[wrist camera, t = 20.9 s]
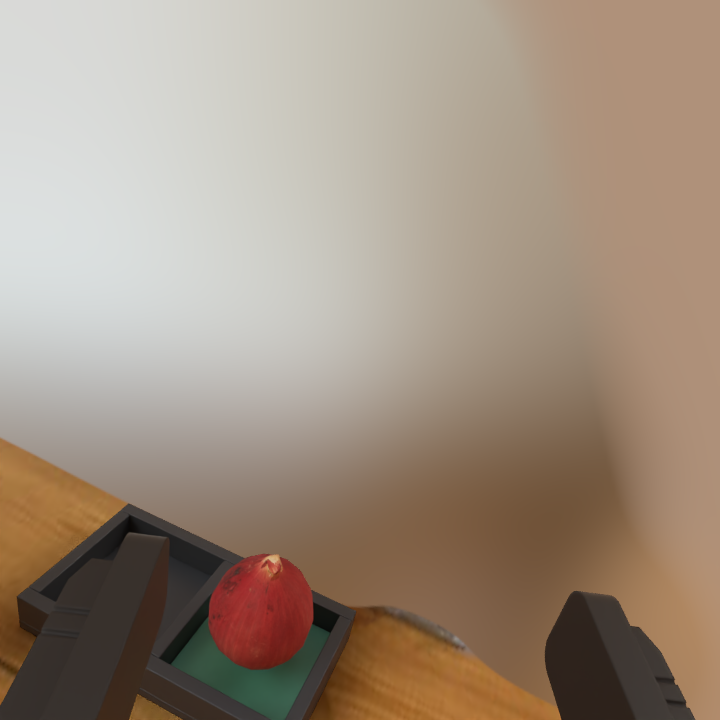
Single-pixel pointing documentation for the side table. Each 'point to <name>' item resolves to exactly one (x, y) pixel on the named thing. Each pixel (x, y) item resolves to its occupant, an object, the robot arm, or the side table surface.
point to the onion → (261, 612)
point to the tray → (202, 631)
